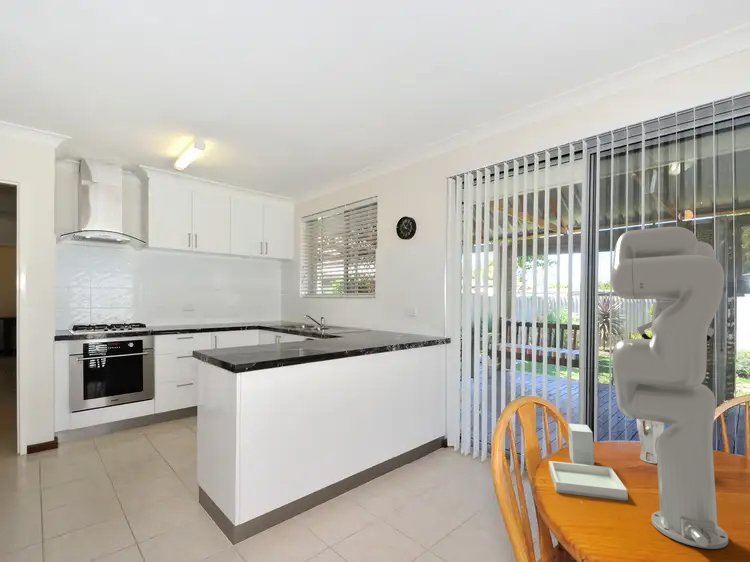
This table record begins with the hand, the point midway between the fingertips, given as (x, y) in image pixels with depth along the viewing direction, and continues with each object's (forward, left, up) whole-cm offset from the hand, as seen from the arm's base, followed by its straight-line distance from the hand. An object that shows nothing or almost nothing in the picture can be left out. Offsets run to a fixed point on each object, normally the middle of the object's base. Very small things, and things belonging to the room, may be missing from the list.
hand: (675, 358), depth 108 cm
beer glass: (+12, +3, -33) cm, 35 cm away
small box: (+4, +24, -33) cm, 41 cm away
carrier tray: (-11, +26, -33) cm, 43 cm away
